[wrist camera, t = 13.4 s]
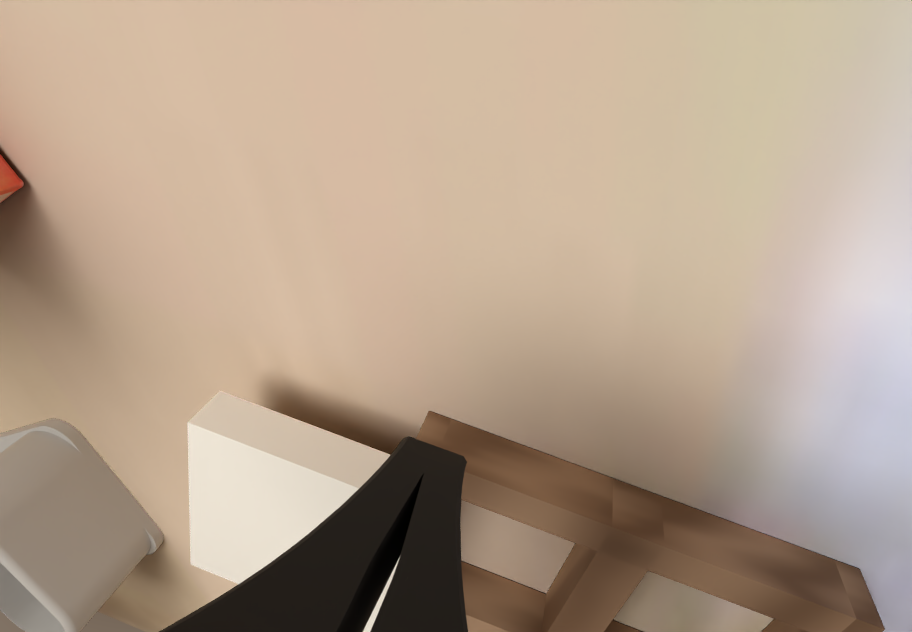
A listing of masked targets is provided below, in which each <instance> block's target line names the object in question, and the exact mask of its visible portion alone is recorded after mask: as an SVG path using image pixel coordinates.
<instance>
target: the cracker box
mask: <svg viewBox="0 0 912 632" xmlns="http://www.w3.org/2000/svg"><path fill="white" fill-rule="evenodd" d="M23 185H24V184H23V181H22V180H21V179H20V178H19V177H18V176H17V175H16V173H15V172H14V171H13V170H12V168H11V167H10V166H9V165H8V163H7V162H6V161H5V160H4V158H3V157H2V156H1V154H0V203H1V202H2V201H4V200H5V199H6V198H8V197H9V196H10V195H11V194H13V193H14V192H15V191H17V190H18V189H20V188H21V187H23Z"/></svg>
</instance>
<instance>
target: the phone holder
mask: <svg viewBox="0 0 912 632" xmlns="http://www.w3.org/2000/svg"><path fill="white" fill-rule="evenodd" d="M163 540H164V536H163V533H162V531H161V529H160V528H159V527H158V526H157V524H156V523H155V522H154V521H153V519H152V518H151V517H150V516H149V515H148V513H147V512H146V511H145V510H144V509H143V507H142V506H141V505H140V504H139V503H138V501H137V500H136V499H135V498H134V496H133V495H132V494H131V493H130V492H129V490H128V489H127V488H126V487H125V486H124V484H123V483H122V482H121V481H120V480H119V478H118V477H117V476H116V475H115V473H114V472H113V471H112V470H111V469H110V467H109V466H108V465H107V464H106V463H105V461H104V460H103V459H102V458H101V457H100V455H99V454H98V453H97V452H96V450H95V449H94V448H93V447H92V446H91V444H90V443H89V442H88V441H87V440H86V438H85V437H84V436H83V435H82V434H81V432H80V431H79V430H77V429H76V428H75V427H74V426H72V425H71V424H69V423H68V422H66V421H63V420H61V419H56V418H51V419H47V420H44V421H40V422H37V423H34V424H30V425H27V426H23V427H20V428H16V429H13V430H9V431H6V432H3V433H0V611H2V613H4V614H5V615H6V616H7V617H8V618H9V619H10V620H11V621H12V622H13V623H14V624H16V625H17V626H18V627H20V628H21V629H22V630H24V631H26V632H80V631H81V630H82V629H83V628H84V626H85V625H86V624H87V623H88V622H89V621H90V619H91V618H92V617H93V616H94V615H95V614H96V613H97V611H98V610H99V609H100V608H101V607H102V605H103V604H104V603H105V602H106V601H107V600H108V598H109V597H110V596H111V595H112V594H113V593H114V591H115V590H116V589H117V588H118V587H119V586H120V584H121V583H122V582H123V581H124V580H125V578H126V577H127V576H128V575H129V574H130V573H131V571H132V570H133V569H134V568H135V567H136V566H137V564H138V563H139V562H140V561H141V560H142V559H143V557H144V556H145V555H149V554H153V553H154V552H155V551H156V550H157V549H158V547H159V546H160V545H161V544H162V543H163Z"/></svg>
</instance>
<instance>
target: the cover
mask: <svg viewBox="0 0 912 632" xmlns="http://www.w3.org/2000/svg"><path fill="white" fill-rule="evenodd" d="M187 423H188V467H189V512H190V556H191V565H193V566H196V567H198V568H200V569H203V570H205V571H208V572H210V573H213V574H215V575H217V576H220V577H222V578H225V579H227V580H230V581H232V582H235V583H237V584H240V583H241V582H243V581H244V580H246V579H247V578H249V577H250V576H252V575H253V574H255V573H256V572H258V571H259V570H261V569H262V568H263V567H265V566H266V565H268V564H269V563H271V562H272V561H273V560H275V559H276V558H277V557H279V556H280V555H281V554H283V553H284V552H286V551H287V550H288V549H290V548H291V547H292V546H293V545H295V544H296V543H297V542H299V541H300V540H301V539H302V538H304V537H305V536H306V535H307V534H309V533H310V532H311V531H312V530H313V529H315V528H316V527H317V526H318V525H319V524H320V523H322V522H323V521H324V520H325V519H326V518H327V517H329V516H330V515H331V514H332V513H333V512H334V511H336V510H337V509H338V508H339V507H340V506H341V505H342V504H343V503H345V502H346V501H347V500H348V499H349V498H350V497H351V496H352V495H353V494H354V493H355V492H356V491H357V490H358V489H359V488H360V487H361V486H362V485H363V484H364V483H365V482H366V481H367V480H368V479H369V478H370V477H371V476H372V475H373V474H374V473H375V472H376V471H377V470H378V469H379V468H380V467H381V465H382V464H383V463H384V462H385V461H386V460H387V459H388V458H389V456H390V454H387V453H385V452H382V451H379V450H377V449H374V448H371V447H369V446H366V445H363V444H361V443H358V442H355V441H353V440H350V439H348V438H345V437H342V436H340V435H337V434H334V433H332V432H329V431H326V430H324V429H321V428H318V427H316V426H313V425H310V424H308V423H305V422H302V421H300V420H297V419H295V418H292V417H289V416H287V415H284V414H281V413H279V412H276V411H273V410H271V409H268V408H265V407H263V406H260V405H257V404H255V403H252V402H249V401H247V400H244V399H241V398H239V397H236V396H234V395H231V394H228V393H226V392H223V391H219V392H218V393H217V394H216V395H215V396H214V397H213V398H212V399H211V400H210V401H209V402H208V403H207V404H206V405H205V406H204V407H203V408H202V409H201V410H199V411H198V412H197V413H196V414H195V415H194V416H193V417H192V418H191V419H190V420H189V421H188V422H187ZM399 558H400V557H399ZM398 561H399V559H398ZM398 561H397V563H396V565H395V567H394V569H393V571H392V573H391V575H390V577H389V580H388V582H387V584H386V586H385V588H384V590H383V592H382V594H381V596H380V598H379V600H378V602H377V604H376V606H375V608H374V610H373V612H372V614H371V616H370V618H369V620H368V622H367V624H366V626H365V628H364V630H363V632H370V631H371V629H372V626H373V624H374V622H375V619H376V617H377V614H378V612H379V610H380V607H381V605H382V602H383V600H384V597H385V595H386V593H387V590H388V588H389V585H390V583H391V581H392V578H393V576H394V573H395V570H396V567H397V564H398Z"/></svg>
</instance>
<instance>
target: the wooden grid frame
mask: <svg viewBox="0 0 912 632" xmlns="http://www.w3.org/2000/svg"><path fill="white" fill-rule="evenodd" d="M416 439H418V440H420V441H423V442H426V443H429V444H432V445H434V446H437V447H440V448H443V449H445V450H448V451H451V452H454V453H457V454H459V455H462V456H464V458H465V459H466V461H467V464H466V467H465V472H464V478H463V485H462V495H461V500H464V501H466V502H469V503H472V504H474V505H477V506H480V507H482V508H485V509H487V510H490V511H493V512H495V513H498V514H501V515H503V516H506V517H509V518H511V519H514V520H516V521H519V522H522V523H524V524H527V525H530V526H532V527H535V528H537V529H540V530H543V531H545V532H548V533H551V534H553V535H556V536H559V537H561V538H564V539H566V540H569V541H572V542H574V543H576V544H575V545H574V547H573V549H572V551H571V552H570V554H569V556H568V557H567V559H566V561H565V563H564V564H563V566H562V568H561V570H560V571H559V573H558V575H557V577H556V578H555V580H554V582H553V583H552V585H551V587H550V589H549V590H548V592H547V594H544V593H541V592H539V591H536V590H534V589H531V588H529V587H526V586H523V585H521V584H518V583H516V582H513V581H511V580H508V579H506V578H503V577H500V576H498V575H495V574H493V573H490V572H488V571H485V570H483V569H480V568H477V567H475V566H472V565H470V564H467V563H465V562H462V561H461V566H462V580H463V592H464V602H465V611H466V619H467V626H468V632H641V631H639V630H636V629H634V628H631V627H628V626H626V625H623V624H621V623H618V622H616V621H613V618H614V617H615V616H616V614H617V613H618V611H619V610H620V609H621V607H622V606H623V605H624V603H625V602H626V600H627V599H628V598H629V596H630V595H631V593H632V592H633V591H634V589H635V588H636V586H637V585H638V584H639V582H640V581H641V579H642V578H643V577H644V575H645V574H646V573H647V571H651V572H653V573H656V574H658V575H661V576H664V577H666V578H669V579H672V580H674V581H677V582H679V583H682V584H685V585H687V586H690V587H693V588H695V589H698V590H701V591H703V592H706V593H708V594H711V595H714V596H716V597H719V598H722V599H724V600H727V601H729V602H732V603H735V604H737V605H740V606H743V607H745V608H748V609H750V610H753V611H756V612H758V613H761V614H764V615H766V616H769V617H772V618H774V620H773V621H772V622H771V623H770V624H769V625H768V626H767V627H766V628H765V629H764V630H763V631H762V632H883V631H884V630H885V628H884V626H883V624H882V621H881V619H880V616H879V614H878V612H877V609H876V607H875V604H874V602H873V600H872V597H871V595H870V592H869V590H868V588H867V585H866V583H865V581H864V578H863V576H862V573H861V571H860V569H858V568H855V567H853V566H850V565H847V564H844V563H842V562H839V561H836V560H834V559H831V558H828V557H825V556H823V555H820V554H817V553H815V552H812V551H809V550H806V549H804V548H801V547H798V546H795V545H793V544H790V543H787V542H785V541H782V540H779V539H776V538H774V537H771V536H768V535H766V534H763V533H760V532H757V531H755V530H752V529H749V528H747V527H744V526H741V525H738V524H736V523H733V522H730V521H727V520H725V519H722V518H719V517H717V516H714V515H711V514H708V513H706V512H703V511H700V510H698V509H695V508H692V507H689V506H687V505H684V504H681V503H678V502H676V501H673V500H670V499H668V498H665V497H662V496H659V495H657V494H654V493H651V492H649V491H646V490H643V489H640V488H638V487H635V486H632V485H629V484H627V483H624V482H621V481H619V480H616V479H613V478H610V477H608V476H605V475H602V474H600V473H597V472H594V471H591V470H589V469H586V468H583V467H580V466H578V465H575V464H572V463H570V462H567V461H564V460H561V459H559V458H556V457H553V456H551V455H548V454H545V453H542V452H540V451H537V450H534V449H531V448H529V447H526V446H523V445H521V444H518V443H515V442H512V441H510V440H507V439H504V438H502V437H499V436H496V435H493V434H491V433H488V432H485V431H482V430H480V429H477V428H474V427H472V426H469V425H466V424H463V423H461V422H458V421H455V420H453V419H450V418H447V417H444V416H442V415H439V414H436V413H433V412H431V411H429V412H428V414H427V416H426V419H425V421H424V423H423V425H422V427H421V429H420V431H419V434H418V436H417V438H416Z"/></svg>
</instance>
